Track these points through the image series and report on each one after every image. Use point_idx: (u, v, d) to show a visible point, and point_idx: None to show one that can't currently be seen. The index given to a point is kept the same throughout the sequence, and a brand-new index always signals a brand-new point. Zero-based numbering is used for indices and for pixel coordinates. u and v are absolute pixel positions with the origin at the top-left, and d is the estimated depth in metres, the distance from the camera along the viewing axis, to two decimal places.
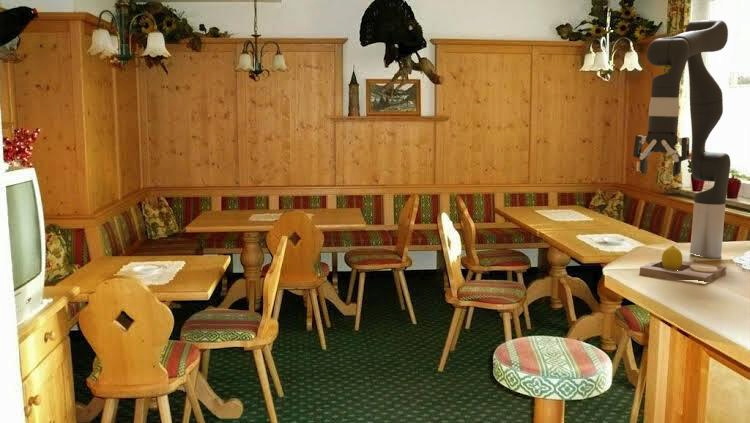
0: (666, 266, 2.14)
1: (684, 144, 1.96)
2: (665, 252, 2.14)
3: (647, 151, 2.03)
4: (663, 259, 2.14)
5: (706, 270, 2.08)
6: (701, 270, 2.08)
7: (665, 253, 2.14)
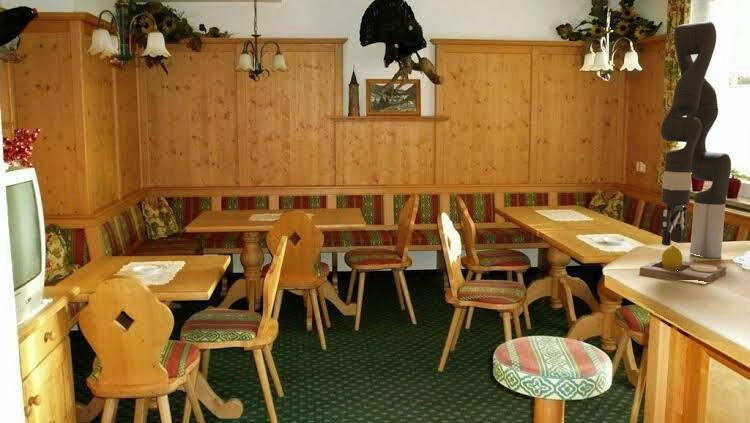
0: (666, 266, 2.14)
1: (686, 212, 2.17)
2: (665, 252, 2.14)
3: (675, 223, 2.10)
4: (663, 259, 2.14)
5: (706, 270, 2.08)
6: (701, 270, 2.08)
7: (665, 253, 2.14)
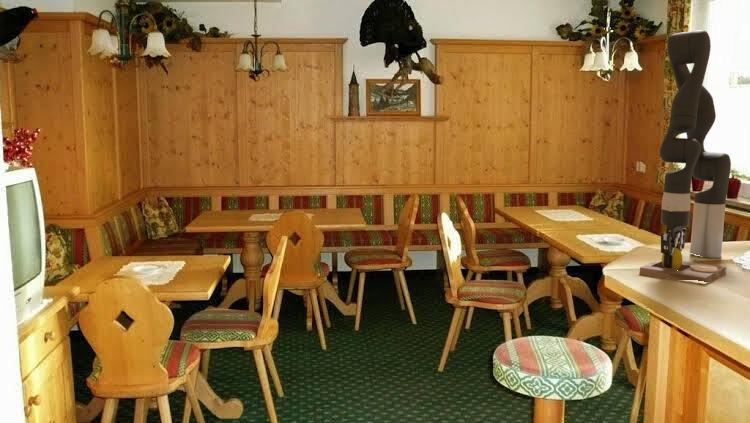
0: None
1: (685, 234, 2.18)
2: None
3: (676, 245, 2.11)
4: (663, 259, 2.14)
5: (706, 270, 2.08)
6: (701, 270, 2.08)
7: None
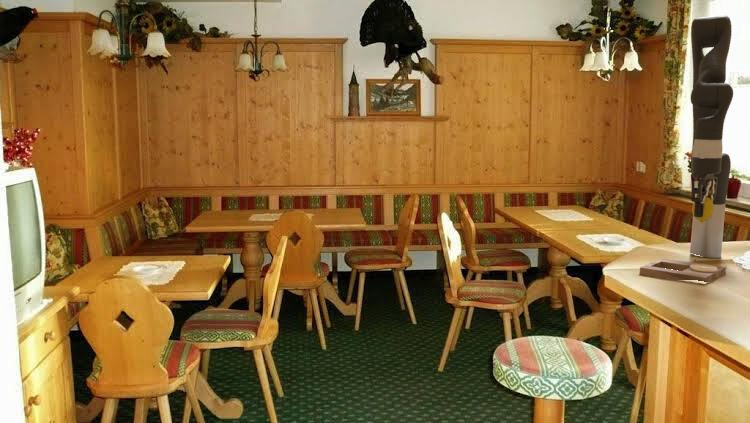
0: None
1: (716, 184, 2.12)
2: None
3: (707, 193, 2.06)
4: (694, 208, 2.09)
5: (706, 270, 2.08)
6: (701, 270, 2.08)
7: None
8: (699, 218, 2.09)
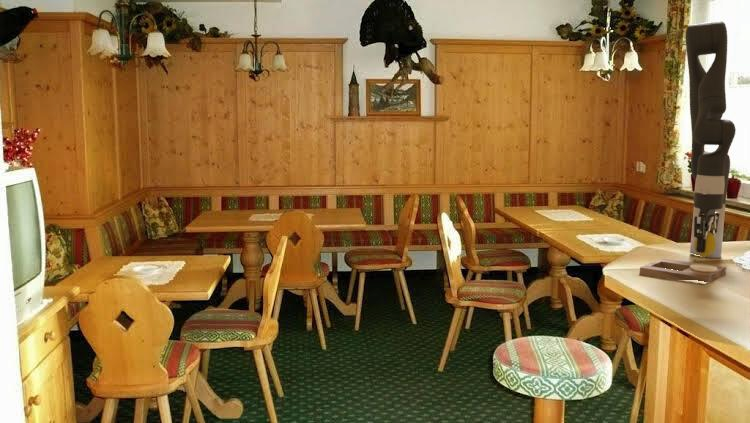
0: None
1: (718, 219, 2.13)
2: None
3: (709, 229, 2.07)
4: (696, 243, 2.10)
5: (706, 270, 2.08)
6: (701, 270, 2.08)
7: None
8: (701, 253, 2.09)
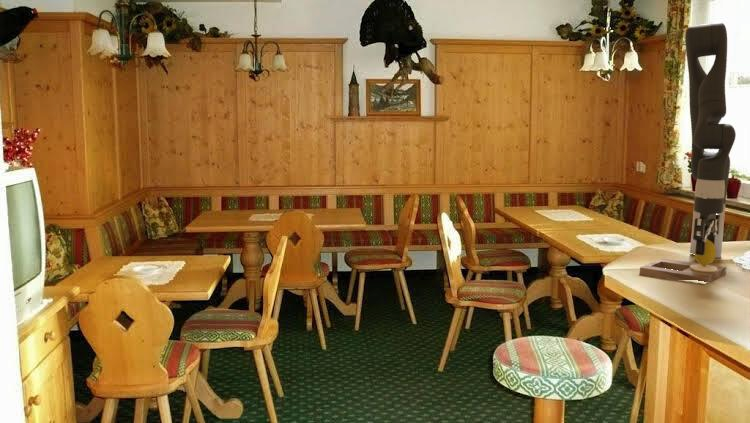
0: (699, 259, 2.10)
1: (719, 220, 2.13)
2: None
3: (709, 232, 2.06)
4: None
5: (706, 270, 2.08)
6: (701, 270, 2.08)
7: None
8: (701, 262, 2.10)
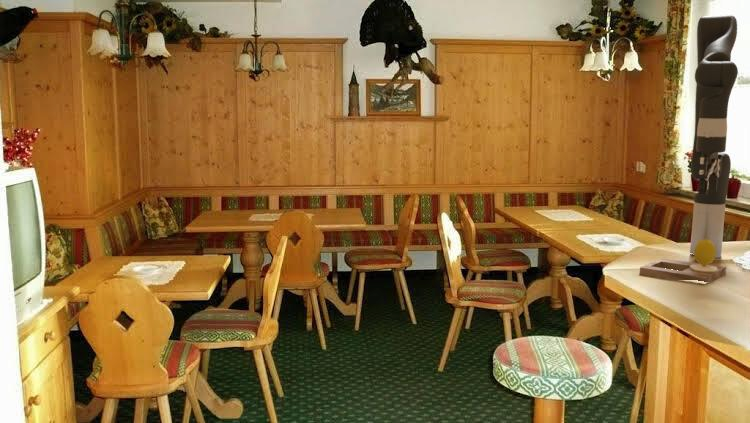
0: (699, 259, 2.10)
1: (721, 160, 2.12)
2: (698, 245, 2.10)
3: (711, 171, 2.05)
4: (696, 252, 2.10)
5: (706, 270, 2.08)
6: (701, 270, 2.08)
7: (698, 246, 2.10)
8: (701, 262, 2.10)
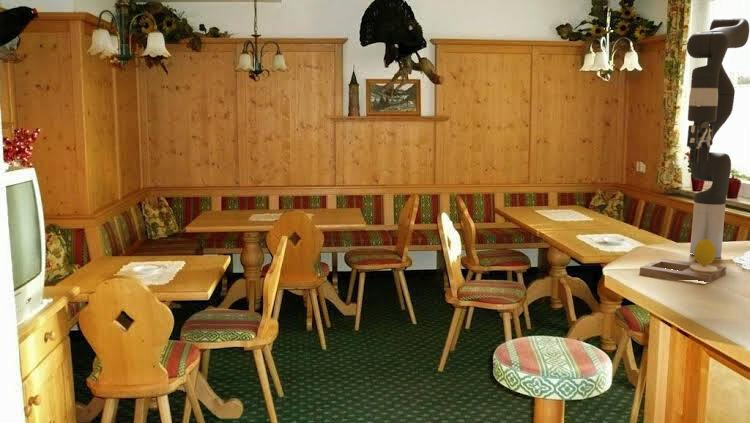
0: (699, 259, 2.10)
1: (712, 131, 2.17)
2: (698, 245, 2.10)
3: (702, 140, 2.10)
4: (696, 252, 2.10)
5: (706, 270, 2.08)
6: (701, 270, 2.08)
7: (698, 246, 2.10)
8: (701, 262, 2.10)
